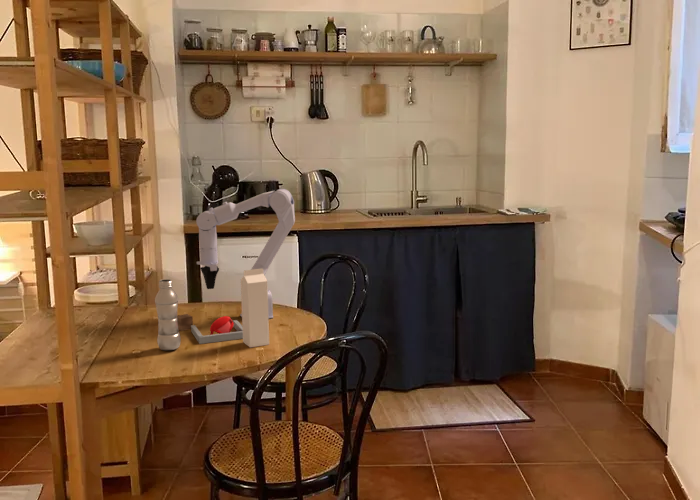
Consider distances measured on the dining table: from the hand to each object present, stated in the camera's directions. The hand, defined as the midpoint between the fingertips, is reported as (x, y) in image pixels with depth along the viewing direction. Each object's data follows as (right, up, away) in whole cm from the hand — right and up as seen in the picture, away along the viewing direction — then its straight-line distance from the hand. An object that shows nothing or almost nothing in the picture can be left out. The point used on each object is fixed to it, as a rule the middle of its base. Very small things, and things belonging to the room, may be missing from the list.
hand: (210, 288), depth 228 cm
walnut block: (-6, -12, -10) cm, 17 cm away
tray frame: (+6, -13, -18) cm, 23 cm away
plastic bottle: (-5, -16, -31) cm, 36 cm away
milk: (+19, -15, -27) cm, 36 cm away
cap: (+7, -14, -19) cm, 25 cm away
